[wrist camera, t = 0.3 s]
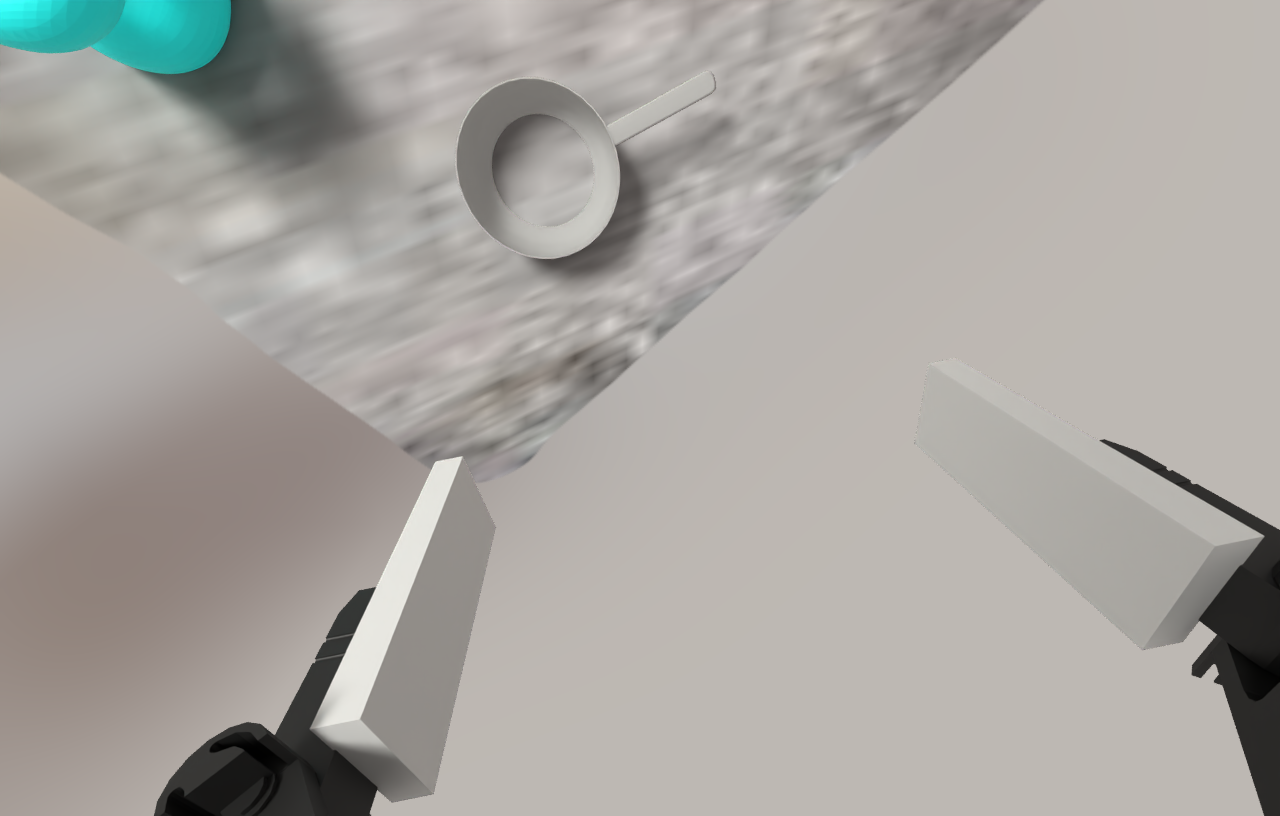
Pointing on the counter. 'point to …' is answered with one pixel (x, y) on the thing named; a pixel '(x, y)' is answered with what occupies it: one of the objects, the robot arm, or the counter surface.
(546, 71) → the counter surface
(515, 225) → the saucepan
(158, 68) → the donuts
